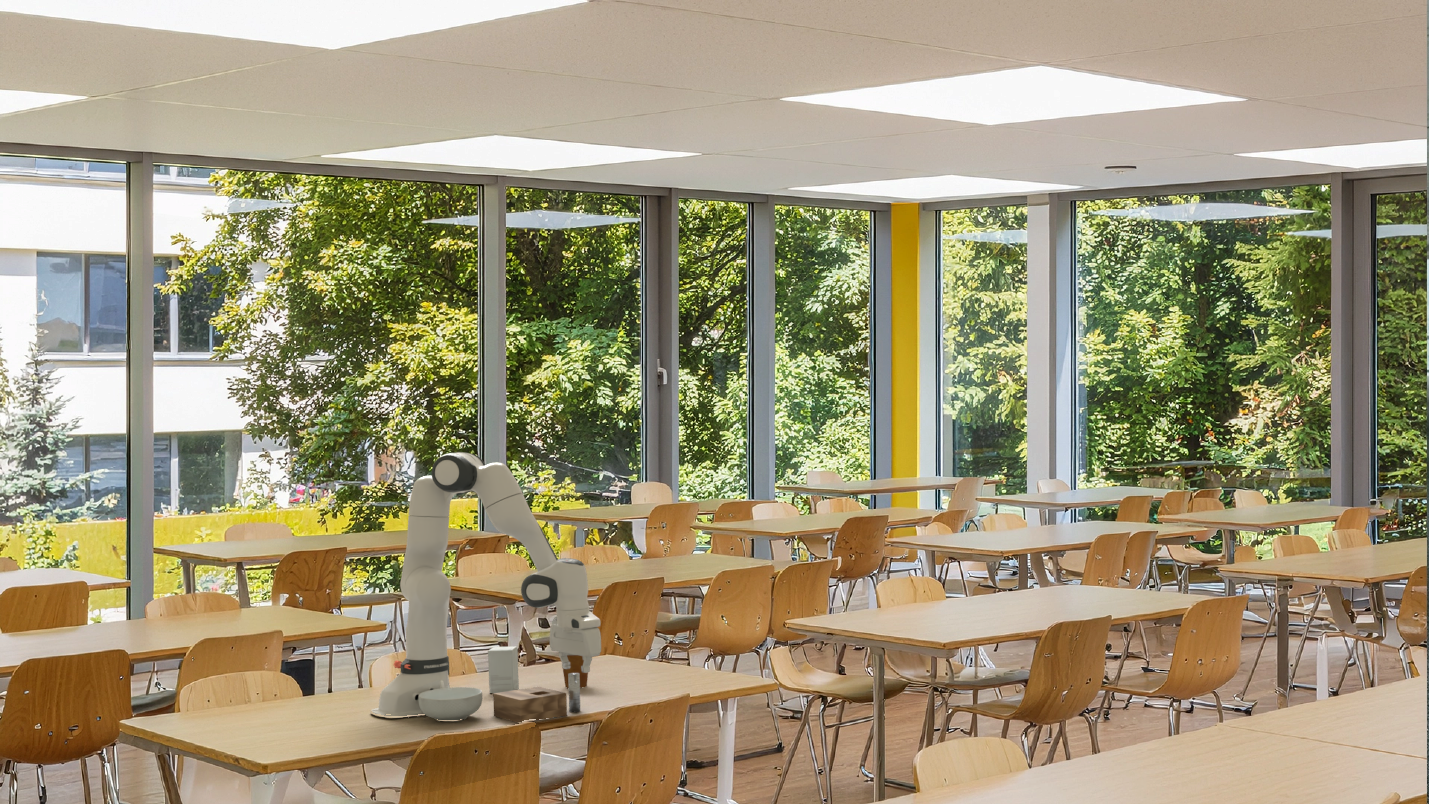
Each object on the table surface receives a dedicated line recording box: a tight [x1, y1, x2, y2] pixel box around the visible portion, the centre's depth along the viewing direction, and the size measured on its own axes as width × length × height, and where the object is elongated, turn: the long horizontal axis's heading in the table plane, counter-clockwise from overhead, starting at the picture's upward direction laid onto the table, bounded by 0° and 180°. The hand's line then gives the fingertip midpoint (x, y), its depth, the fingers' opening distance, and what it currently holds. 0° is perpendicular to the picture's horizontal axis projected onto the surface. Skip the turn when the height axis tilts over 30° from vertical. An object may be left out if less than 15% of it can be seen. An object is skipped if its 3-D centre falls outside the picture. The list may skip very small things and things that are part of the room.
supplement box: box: [487, 645, 520, 694], centre depth 431 cm, size 7×7×13 cm
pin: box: [568, 673, 581, 713], centre depth 397 cm, size 3×3×10 cm
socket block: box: [492, 686, 568, 723], centre depth 392 cm, size 14×14×6 cm
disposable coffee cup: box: [562, 654, 589, 689], centre depth 436 cm, size 10×10×12 cm
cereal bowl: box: [418, 686, 483, 720], centre depth 391 cm, size 17×17×7 cm
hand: (575, 670), depth 398 cm, fingers open, 8 cm apart
